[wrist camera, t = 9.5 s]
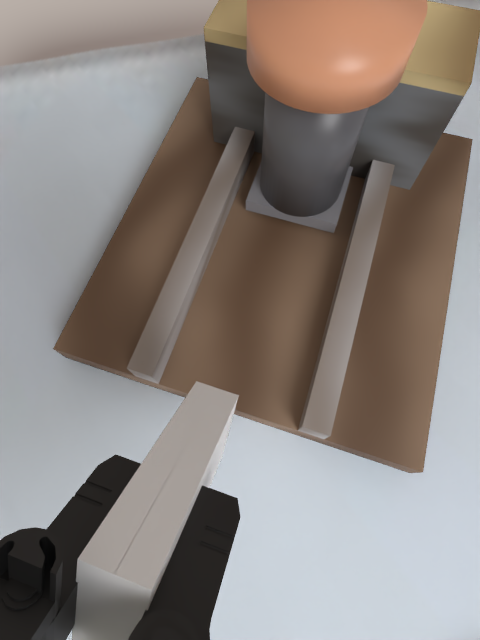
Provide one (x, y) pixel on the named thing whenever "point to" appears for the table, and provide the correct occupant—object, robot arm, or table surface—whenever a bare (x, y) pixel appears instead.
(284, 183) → the knob
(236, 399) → the robot arm
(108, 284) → the brown sliding knob board
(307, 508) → the table surface
